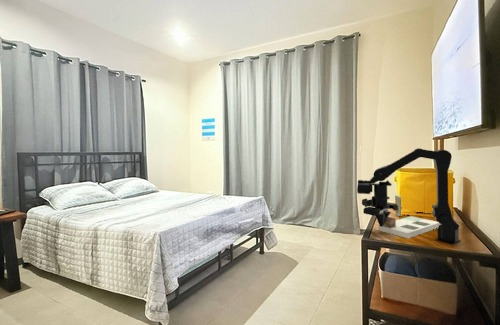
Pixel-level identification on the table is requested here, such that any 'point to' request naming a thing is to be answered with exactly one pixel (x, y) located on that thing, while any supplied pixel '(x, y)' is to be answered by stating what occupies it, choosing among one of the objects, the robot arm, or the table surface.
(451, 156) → the robot arm
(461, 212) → the table surface
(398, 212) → the skincare box
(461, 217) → the table surface
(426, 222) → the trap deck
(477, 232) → the table surface
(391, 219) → the walnut block
